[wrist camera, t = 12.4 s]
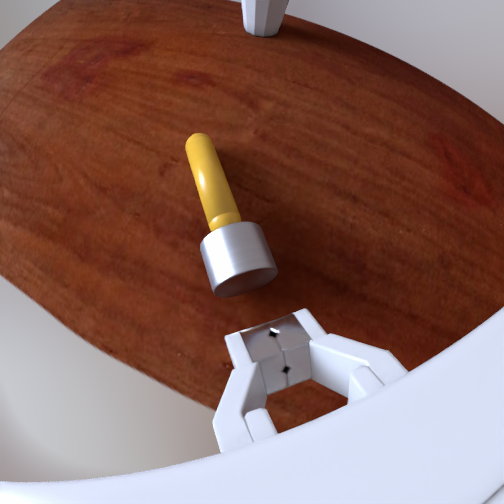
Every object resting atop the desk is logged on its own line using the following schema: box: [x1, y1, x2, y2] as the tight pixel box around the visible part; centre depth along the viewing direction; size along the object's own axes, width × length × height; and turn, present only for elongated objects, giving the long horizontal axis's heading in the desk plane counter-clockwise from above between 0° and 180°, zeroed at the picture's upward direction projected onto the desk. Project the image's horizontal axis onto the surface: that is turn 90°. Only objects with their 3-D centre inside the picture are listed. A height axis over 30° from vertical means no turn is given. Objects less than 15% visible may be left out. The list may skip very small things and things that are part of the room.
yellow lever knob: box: [186, 133, 278, 297], centre depth 25 cm, size 5×5×14 cm
